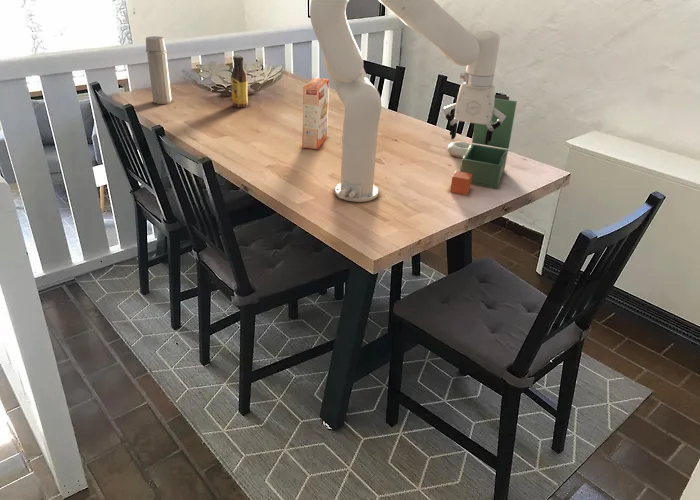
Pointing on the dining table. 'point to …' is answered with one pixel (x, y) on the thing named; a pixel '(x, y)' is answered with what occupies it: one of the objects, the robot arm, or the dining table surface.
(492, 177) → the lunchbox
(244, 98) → the sauce bottle
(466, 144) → the donut
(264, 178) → the dining table surface
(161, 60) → the water bottle
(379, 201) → the dining table surface
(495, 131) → the lid
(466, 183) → the block
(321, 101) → the cracker box
